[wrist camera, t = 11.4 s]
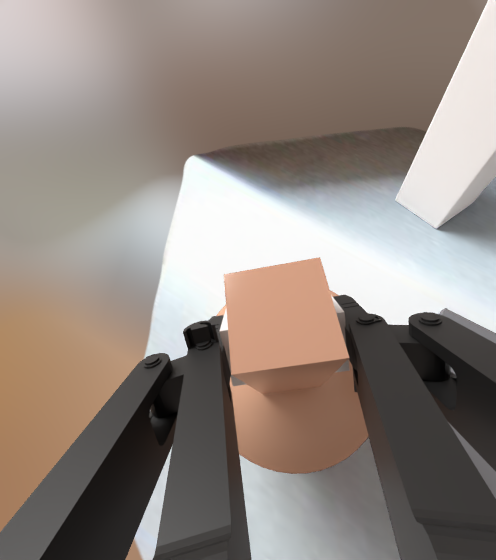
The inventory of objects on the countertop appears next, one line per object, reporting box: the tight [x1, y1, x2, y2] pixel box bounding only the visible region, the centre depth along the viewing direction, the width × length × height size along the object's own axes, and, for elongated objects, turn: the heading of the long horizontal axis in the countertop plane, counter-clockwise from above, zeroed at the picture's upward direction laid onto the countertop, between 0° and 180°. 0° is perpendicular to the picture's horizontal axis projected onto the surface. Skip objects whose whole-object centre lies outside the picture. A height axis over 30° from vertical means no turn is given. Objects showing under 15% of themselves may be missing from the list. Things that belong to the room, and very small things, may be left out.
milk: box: [395, 0, 496, 229], centre depth 22 cm, size 6×6×22 cm
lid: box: [217, 258, 369, 474], centre depth 13 cm, size 12×12×10 cm
